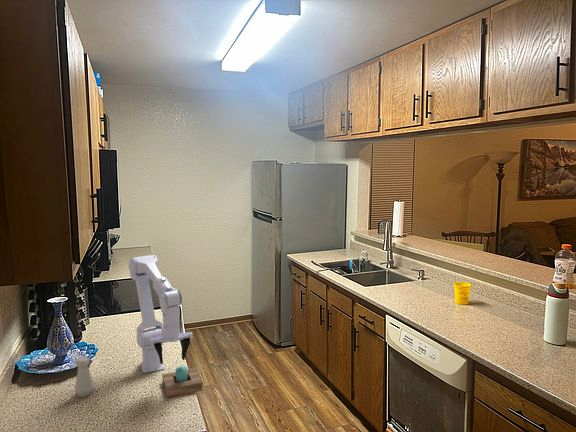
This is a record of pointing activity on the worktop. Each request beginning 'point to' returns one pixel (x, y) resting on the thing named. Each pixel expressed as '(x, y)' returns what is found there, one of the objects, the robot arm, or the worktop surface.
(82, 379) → the salt shaker
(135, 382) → the worktop surface
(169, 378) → the socket block
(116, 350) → the worktop surface
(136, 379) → the worktop surface
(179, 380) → the teal pin
